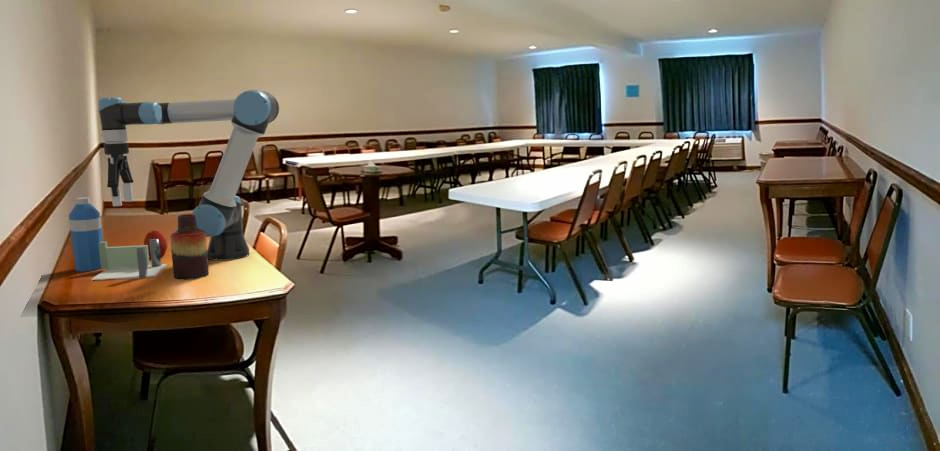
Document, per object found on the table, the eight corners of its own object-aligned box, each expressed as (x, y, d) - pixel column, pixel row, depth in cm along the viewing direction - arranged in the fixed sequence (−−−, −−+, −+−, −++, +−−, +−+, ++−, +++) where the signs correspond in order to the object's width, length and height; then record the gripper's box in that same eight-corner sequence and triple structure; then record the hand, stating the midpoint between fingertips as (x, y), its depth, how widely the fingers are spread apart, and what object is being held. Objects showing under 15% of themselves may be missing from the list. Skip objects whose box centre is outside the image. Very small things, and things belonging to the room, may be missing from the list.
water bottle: (92, 271, 225) (83, 199, 221) (68, 271, 227) (60, 199, 223) (111, 265, 234) (104, 196, 230) (89, 265, 236) (81, 196, 232)
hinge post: (162, 266, 232) (159, 238, 231) (160, 268, 229) (157, 240, 228) (153, 266, 232) (150, 239, 230) (150, 268, 229) (148, 240, 227)
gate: (149, 264, 231) (147, 239, 229) (147, 265, 229) (145, 240, 227) (103, 266, 228) (100, 241, 227) (101, 268, 226) (98, 242, 224)
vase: (215, 273, 221) (211, 213, 217) (192, 280, 211) (187, 218, 207) (190, 271, 224) (185, 212, 221) (166, 278, 214) (160, 217, 211)
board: (167, 265, 233) (167, 263, 233) (154, 277, 216) (153, 275, 216) (109, 268, 230) (109, 267, 230) (91, 280, 212) (91, 279, 212)
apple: (140, 257, 248) (137, 229, 247) (162, 253, 255) (159, 226, 253) (150, 260, 243) (147, 231, 241) (172, 256, 249) (169, 228, 248)
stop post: (147, 276, 217) (144, 246, 216) (145, 277, 216) (143, 247, 214) (141, 276, 217) (138, 247, 215) (139, 278, 215) (136, 248, 213)
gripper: (114, 142, 238) (122, 200, 241) (91, 144, 214) (100, 208, 217) (137, 141, 240) (144, 198, 243) (116, 143, 216) (124, 207, 219)
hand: (123, 203), depth 230 cm, fingers open, 13 cm apart
